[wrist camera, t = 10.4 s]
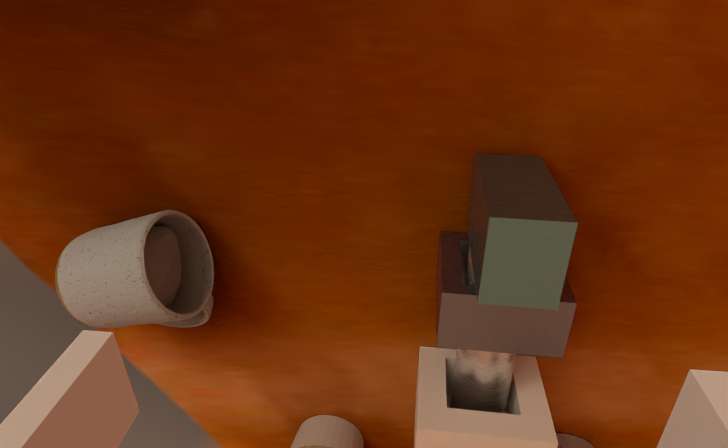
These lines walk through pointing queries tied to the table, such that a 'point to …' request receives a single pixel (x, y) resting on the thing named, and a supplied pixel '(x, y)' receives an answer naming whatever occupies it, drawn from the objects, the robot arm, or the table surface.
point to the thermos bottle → (571, 441)
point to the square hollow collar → (493, 312)
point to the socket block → (479, 428)
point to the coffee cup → (327, 433)
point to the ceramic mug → (138, 273)
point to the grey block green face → (510, 261)
